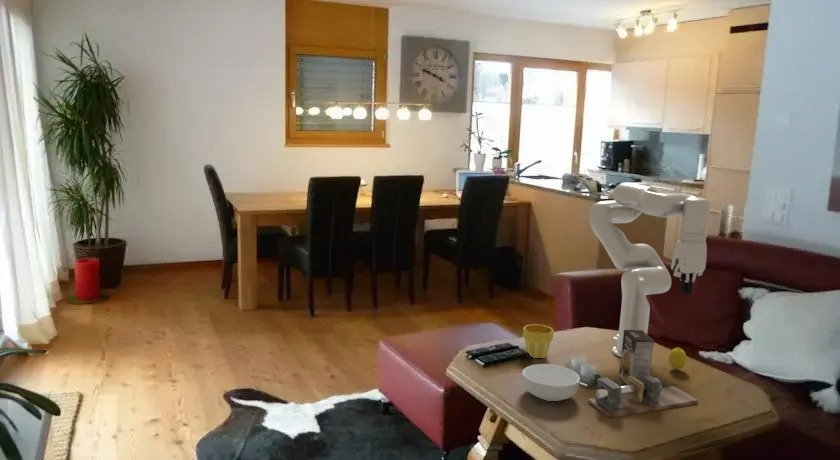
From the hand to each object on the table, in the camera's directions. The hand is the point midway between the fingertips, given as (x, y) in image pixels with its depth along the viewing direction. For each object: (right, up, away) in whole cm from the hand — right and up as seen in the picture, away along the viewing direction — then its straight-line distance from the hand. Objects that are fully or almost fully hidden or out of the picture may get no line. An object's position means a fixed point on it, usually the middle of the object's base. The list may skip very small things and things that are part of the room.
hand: (685, 293), depth 204 cm
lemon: (+2, -27, +13) cm, 31 cm away
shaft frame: (-18, -31, -12) cm, 38 cm away
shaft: (-23, -29, -15) cm, 40 cm away
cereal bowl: (-45, -30, -10) cm, 55 cm away
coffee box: (-16, -29, +2) cm, 33 cm away
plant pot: (-44, -24, +21) cm, 54 cm away
